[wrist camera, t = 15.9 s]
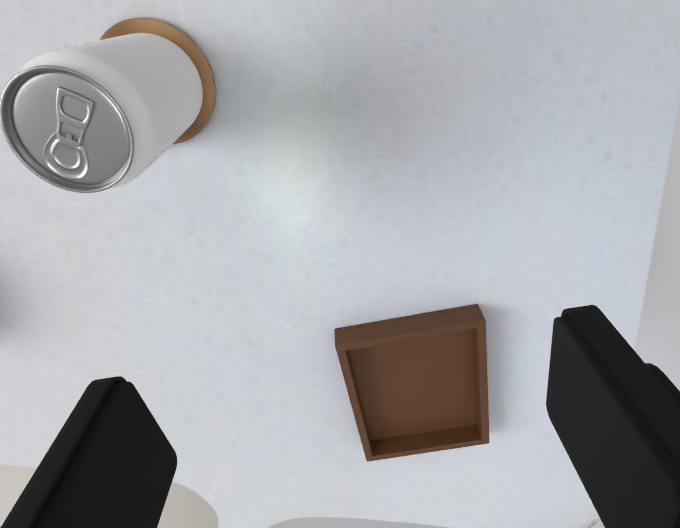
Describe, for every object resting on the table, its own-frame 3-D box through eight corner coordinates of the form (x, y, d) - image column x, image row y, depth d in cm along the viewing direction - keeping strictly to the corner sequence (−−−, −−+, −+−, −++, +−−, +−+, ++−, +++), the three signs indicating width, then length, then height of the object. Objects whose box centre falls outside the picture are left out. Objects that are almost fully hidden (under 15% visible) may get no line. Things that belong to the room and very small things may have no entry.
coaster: (134, -13, 27) (131, -14, 27) (239, 82, 30) (237, 83, 30) (73, 87, 30) (69, 88, 30) (174, 164, 33) (172, 166, 33)
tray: (334, 328, 42) (335, 346, 40) (477, 303, 41) (485, 320, 39) (365, 443, 51) (366, 461, 49) (482, 425, 50) (489, 443, 48)
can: (97, 109, 30) (-17, 168, 20) (116, 12, 27) (-8, 23, 17) (190, 148, 32) (127, 221, 22) (216, 60, 29) (158, 97, 19)
